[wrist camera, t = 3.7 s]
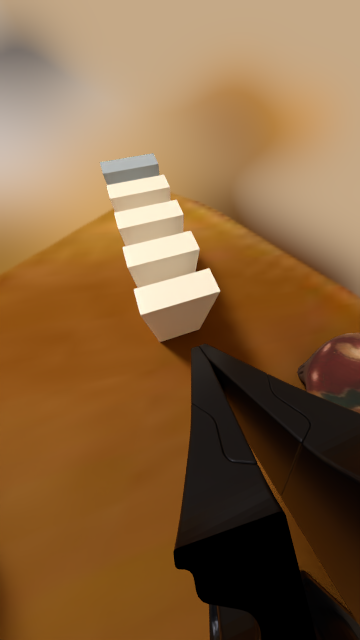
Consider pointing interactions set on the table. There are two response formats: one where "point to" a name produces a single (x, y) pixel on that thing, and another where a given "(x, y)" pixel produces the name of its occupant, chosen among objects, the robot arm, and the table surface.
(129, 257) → the domino
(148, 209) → the domino
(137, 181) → the domino
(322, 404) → the robot arm
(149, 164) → the domino
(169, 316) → the domino
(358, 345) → the decorative turtle
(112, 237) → the table surface
